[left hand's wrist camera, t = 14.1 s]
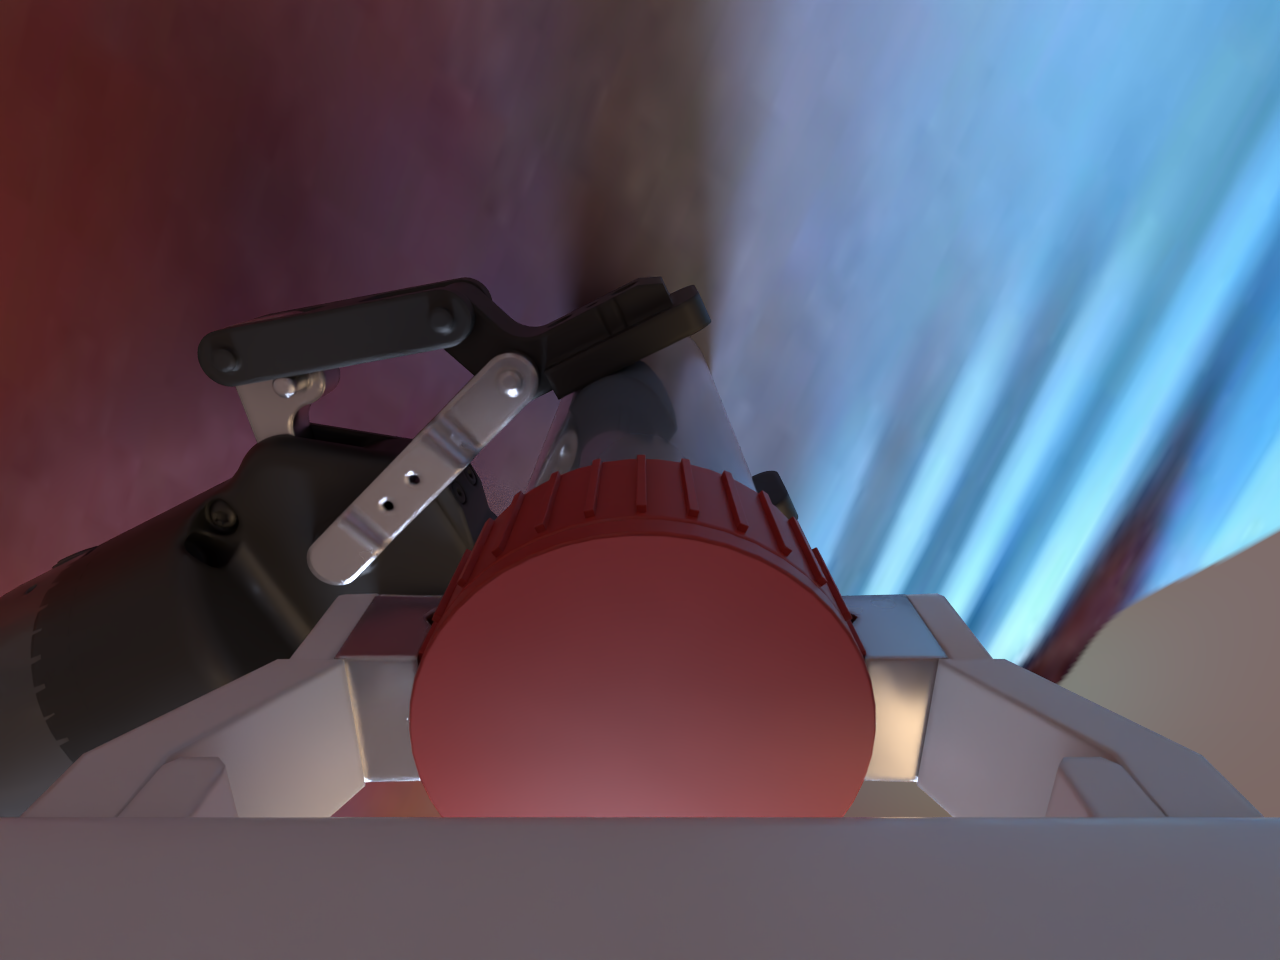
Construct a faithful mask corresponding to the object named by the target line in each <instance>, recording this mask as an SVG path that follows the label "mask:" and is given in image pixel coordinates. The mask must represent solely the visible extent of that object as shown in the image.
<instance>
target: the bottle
mask: <svg viewBox="0 0 1280 960" xmlns="http://www.w3.org/2000/svg"><path fill="white" fill-rule="evenodd" d="M637 455H646V459H659V460H667V461H674V462H681V459H682V458H684V459H689V460H690V464H691V465H694V466H698V467H702V468H706V469H710V470H712V471H715V472H717V473H720V474H722V473H723V471H724V470H725V471H727V472H730V473H731V474H732V477H733V479H734V480H736V481H738V482H740V483H741V484H743V485H745V486H747V487H748V488H750V489H752V490H754V491H756V492H757V493H758V491H757V488H756V486H755V483H754V481H753V478H752V476H751V473H750V471H749V468H748V466H747V463H746V461H745V458H744V456H743V453H742V451H741V448H740V446H739V443H738V441H737V438H736V436H735V433H734V431H733V428H732V426H731V423H730V421H729V418H728V416H727V413H726V411H725V408H724V406H723V403H722V401H721V398H720V396H719V393H718V391H717V388H716V386H715V383H714V381H713V378H712V376H711V373H710V371H709V368H708V366H707V363H706V361H705V358H704V356H703V354H702V352H701V350H700V349H699V347H698V346H697V345H696V343H695V342H694V341H693V340H692V339H691V338H690V337H689V336H688V337H686V338H684V339H682V340H680V341H678V342H676V343H674V344H672V345H670V346H668V347H666V348H664V349H662V350H660V351H657V352H655V353H653V354H651V355H649V356H647V357H645V358H643V359H641V360H639V361H637V362H635V363H633V364H631V365H629V366H627V367H625V368H623V369H621V370H618V371H616V372H614V373H612V374H610V375H608V376H606V377H604V378H602V379H599V380H597V381H595V382H593V383H591V384H589V385H588V386H586V387H584V388H582V389H580V390H577V391H575V392H573V393H571V394H569V395H567V396H565V397H563V398H562V399H561V401H560V404H559V406H558V409H557V412H556V414H555V417H554V419H553V422H552V424H551V427H550V430H549V432H548V435H547V437H546V440H545V442H544V445H543V448H542V450H541V453H540V455H539V458H538V460H537V463H536V465H535V468H534V471H533V473H532V476H531V478H530V481H529V483H528V486H527V489H526V491H525V494H526V493H528V492H529V491H530V490H532V489H534V488H536V487H537V486H539V485H541V484H543V483H545V482H547V481H549V480H550V477H551V474H552V473H555V472H557V471H559V473H560V475H562V474H565V473H567V472H570V471H573V470H575V469H578V468H582V467H586V466H590V465H592V462H593V460H596V459H601V461H602V462H609V461H618V460H627V459H637ZM525 494H524V495H525ZM758 494H759V493H758Z"/></svg>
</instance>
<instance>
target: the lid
mask: <svg viewBox="0 0 1280 960" xmlns="http://www.w3.org/2000/svg"><path fill="white" fill-rule="evenodd" d="M851 619H852V616H851V614H850V612H849V610H848V608H847V606H846V604H845V602H844V600H843V598H842V596H841V594H840V592H839V590H838V588H837V586H836V584H835V582H834V580H833V578H832V576H831V574H830V572H829V570H828V568H827V566H826V564H825V562H824V560H823V558H822V556H821V554H820V552H819V551H818V549H817V548H814V549H811V547H810V545H809V543H808V541H807V539H806V537H805V535H804V533H803V531H802V529H801V527H800V525H799V523H798V521H797V520H796V519H795V517H791V518H790V519H788V518H787V517H786V516H785V515H784V514H783V513H782V512H781V511H780V510H779V509H778V508H777V507H776V506H774V505H773V504H772V502H771V500H770V498H769V495H768V494H767V493H766V492H764V491H763V490H761V492H760V493H759V494H758V493H757V492H756V491H754V490H752V489H750V488H748V487H747V486H745V485H743V484H741V483H740V482H738V481H736V480H734V479H733V477H732V474H731V473H730V472H727V471H725V470H724V471H723V473H722V474H720V473H717V472H715V471H712V470H710V469H706V468H702V467H698V466H694V465H691V464H690V460H689V459H684V458H682V459H681V462H674V461H667V460H659V459H646V455H637V459H627V460H618V461H609V462H602V461H601V459H596V460H593V462H592V465H590V466H586V467H582V468H578V469H575V470H573V471H570V472H567V473H565V474H562V475H560V473H559V471H557V472H555V473H552V474H551V477H550V480H549V481H547V482H545V483H543V484H541V485H539V486H537V487H536V488H534V489H532V490H530V491H529V492H528V493H526V494H525V495H524V494H523V493H522V492H521V491H520V492H519V493H517V494H516V495H515V496H514V499H513V501H512V503H511V505H510V506H509V507H508V508H507V509H506V510H505V511H504V512H503V513H502V514H501V515H500V516H499V517H498V518H496V519H495V520H493V519H491V518H489V519H488V520H487V521H486V522H485V524H484V526H483V528H482V530H481V533H480V535H479V537H478V539H477V541H476V543H475V545H474V547H473V549H472V551H471V550H469V549H466V551H465V553H464V555H463V557H462V559H461V561H460V563H459V565H458V567H457V569H456V571H455V573H454V575H453V577H452V579H451V581H450V583H449V585H448V587H447V589H446V591H445V593H444V595H443V597H442V599H441V601H440V603H439V605H438V607H437V609H436V611H435V613H434V615H433V617H432V621H434V622H433V624H432V626H431V628H430V630H429V632H428V634H427V636H426V638H425V640H424V642H423V644H422V646H421V649H420V651H419V653H418V654H419V659H420V660H421V661H420V664H419V666H418V669H417V672H416V674H415V677H414V682H413V687H412V692H411V697H410V705H409V732H410V740H411V748H412V754H413V757H414V761H415V764H416V767H417V771H418V774H419V777H420V779H421V782H422V784H423V786H424V788H425V790H426V792H427V794H428V796H429V799H430V800H431V802H432V803H433V805H434V806H435V808H436V809H437V811H438V812H439V814H440V815H441V817H843V816H844V815H845V813H846V812H847V810H848V809H849V807H850V806H851V805H852V803H853V802H854V800H855V798H856V796H857V793H858V792H859V790H860V787H861V785H862V783H863V781H864V779H865V776H866V773H867V770H868V767H869V764H870V761H871V757H872V752H873V746H874V739H875V733H876V704H875V698H874V693H873V687H872V681H871V678H870V675H869V672H868V669H867V666H866V663H865V660H864V658H863V654H866V650H865V648H864V646H863V644H862V642H861V640H860V638H859V636H858V634H857V632H856V630H855V628H854V626H853V624H852V622H851Z"/></svg>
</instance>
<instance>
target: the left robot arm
mask: <svg viewBox="0 0 1280 960" xmlns="http://www.w3.org/2000/svg"><path fill="white" fill-rule="evenodd" d="M442 597H443V596H441V595H388V594H381V595H378V594H345V595H340V596H338V597H337V598H336V599H335V601H334V602H333V603H332V605H331V606H330V607H329V608H328V610H327V611H326V612H325V614H324V615H323V616H322V617H321V619H320V620H319V621H318V623H317V624H316V625H315V627H314V628H313V629H312V630H311V632H310V633H309V634H308V636H307V637H306V638H305V640H304V641H303V642H302V643H301V645H300V646H299V647H298V649H297V650H296V651H295V652H294V654H293V655H292V656H291V658H290V659H277V660H275V661H273V662H271V663H269V664H267V665H265V666H263V667H261V668H259V669H257V670H254V671H252V672H250V673H248V674H246V675H244V676H242V677H240V678H238V679H236V680H234V681H232V682H230V683H228V684H226V685H224V686H222V687H220V688H218V689H215V690H213V691H211V692H209V693H207V694H205V695H203V696H201V697H199V698H197V699H195V700H193V701H191V702H189V703H187V704H185V705H183V706H181V707H178V708H176V709H174V710H172V711H170V712H168V713H166V714H164V715H162V716H160V717H158V718H156V719H154V720H152V721H150V722H148V723H146V724H144V725H142V726H139V727H137V728H135V729H133V730H131V731H129V732H127V733H125V734H123V735H121V736H119V737H117V738H115V739H113V740H111V741H109V742H107V743H105V744H103V745H100V746H98V747H96V748H94V749H92V750H90V751H88V752H86V753H84V754H82V755H81V756H80V757H79V758H78V759H77V760H76V761H75V762H74V763H73V764H72V765H71V766H70V767H69V768H68V769H67V770H66V771H65V772H64V773H63V774H62V775H61V776H60V777H59V778H58V779H57V780H56V781H55V782H54V783H53V784H52V785H51V786H50V787H49V788H48V789H47V790H46V791H45V792H44V793H43V794H42V795H41V796H40V797H39V798H38V799H37V800H36V801H35V802H34V803H33V804H32V805H31V806H30V807H29V808H28V809H27V810H26V811H25V812H24V813H23V814H22V815H21V816H20V817H0V960H1280V817H1264V816H1263V815H1262V814H1261V813H1260V812H1259V811H1258V810H1257V809H1256V808H1255V807H1254V806H1253V805H1252V804H1251V803H1250V802H1249V801H1248V800H1247V799H1246V798H1245V797H1244V796H1242V794H1240V792H1239V791H1237V790H1236V789H1235V788H1234V787H1233V786H1232V785H1231V784H1230V783H1229V782H1228V781H1227V780H1226V779H1225V778H1224V777H1223V776H1222V775H1221V774H1220V773H1219V772H1218V771H1217V770H1216V769H1215V768H1214V767H1213V766H1212V765H1211V764H1210V763H1209V762H1208V761H1207V760H1206V759H1205V758H1204V757H1203V756H1202V755H1200V754H1198V753H1196V752H1194V751H1192V750H1190V749H1188V748H1186V747H1184V746H1182V745H1180V744H1178V743H1176V742H1174V741H1172V740H1170V739H1168V738H1166V737H1164V736H1162V735H1159V734H1157V733H1155V732H1153V731H1151V730H1149V729H1147V728H1145V727H1143V726H1141V725H1139V724H1137V723H1135V722H1133V721H1131V720H1129V719H1127V718H1125V717H1122V716H1120V715H1118V714H1116V713H1114V712H1112V711H1110V710H1108V709H1106V708H1104V707H1102V706H1100V705H1098V704H1096V703H1094V702H1092V701H1090V700H1088V699H1086V698H1083V697H1081V696H1079V695H1077V694H1075V693H1073V692H1071V691H1069V690H1067V689H1065V688H1063V687H1061V686H1059V685H1057V684H1055V683H1053V682H1051V681H1049V680H1047V679H1044V678H1042V677H1040V676H1038V675H1036V674H1034V673H1032V672H1030V671H1028V670H1026V669H1024V668H1022V667H1020V666H1018V665H1016V664H1014V663H1012V662H1010V661H1008V660H1005V659H993V658H992V657H991V656H990V655H989V653H988V652H987V651H986V649H985V648H984V647H983V646H982V644H981V643H980V642H979V640H978V639H977V638H976V637H975V635H974V634H973V633H972V631H971V630H970V629H969V628H968V626H967V625H966V624H965V623H964V621H963V620H962V619H961V617H960V616H959V615H958V614H957V612H956V611H955V610H954V608H953V607H952V606H951V605H950V603H949V602H948V601H947V599H946V598H945V597H944V596H942V595H940V594H937V593H936V594H913V595H905V594H902V595H861V596H842V598H843V600H844V602H845V604H846V606H847V608H848V610H849V612H850V614H851V616H852V619H851V622H852V624H853V626H854V628H855V630H856V632H857V634H858V636H859V638H860V640H861V642H862V644H863V646H864V648H865V650H866V654H863V658H864V660H865V663H866V666H867V669H868V672H869V675H870V678H871V681H872V687H873V693H874V698H875V704H876V733H875V739H874V746H873V752H872V757H871V761H870V764H869V767H868V770H867V773H866V776H865V779H864V781H899V782H917V786H919V787H920V788H921V789H922V790H923V791H924V792H925V793H926V794H928V795H929V796H930V797H931V798H932V799H933V800H934V801H936V802H937V803H938V804H939V805H940V806H941V807H942V808H943V809H945V810H946V811H947V812H948V813H949V814H950V815H951V816H952V817H330V816H331V815H333V814H334V813H335V812H336V811H337V810H338V809H339V808H340V807H342V806H343V805H344V804H345V803H346V802H347V801H348V800H350V799H351V798H352V797H353V796H354V795H355V794H356V793H357V792H359V791H360V790H361V789H362V788H363V787H364V786H365V782H383V781H418V780H421V779H420V777H419V774H418V771H417V767H416V764H415V761H414V757H413V754H412V748H411V740H410V732H409V705H410V697H411V692H412V687H413V682H414V677H415V674H416V672H417V669H418V666H419V664H420V661H421V660H420V659H419V654H418V653H419V651H420V649H421V646H422V644H423V642H424V640H425V638H426V636H427V634H428V632H429V630H430V628H431V626H432V624H433V622H434V621H432V617H433V615H434V613H435V611H436V609H437V607H438V605H439V603H440V601H441V599H442Z"/></svg>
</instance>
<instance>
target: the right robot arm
mask: <svg viewBox="0 0 1280 960" xmlns="http://www.w3.org/2000/svg"><path fill="white" fill-rule="evenodd" d="M710 322H711V319H710V317H709V315H708V313H707V310H706V308H705V306H704V304H703V301H702V299H701V297H700V295H699V293H698V291H697V289H696V287H695V286H694V285H691V286H687V287H685V288H682V289H680V290H678V291H676V292H674V293H672V294H670V295H669V292H668V290H667V288H666V286H665V284H664V282H663V280H662V277H650V278H638V279H636V280H634V281H632V282H630V283H628V284H626V285H624V286H622V287H620V288H618V289H616V290H614V291H612V292H610V293H608V294H606V295H604V296H602V297H601V298H599V299H596V300H594V301H592V302H590V303H588V304H586V305H584V306H582V307H581V308H579V309H577V310H575V311H573V312H571V313H569V314H567V315H565V316H563V317H561V318H559V319H557V320H555V321H553V322H551V323H549V324H547V325H544V326H540V327H529V326H525V325H522V324H519V323H517V322H516V321H514V320H513V319H512V318H510V317H509V316H508V315H507V314H506V313H505V312H504V311H503V310H502V309H500V308H499V307H498V306H497V305H496V304H495V303H494V302H493V301H492V298H491V295H490V293H489V291H488V289H487V288H486V287H485V286H484V285H483V284H482V283H481V282H479V281H477V280H475V279H472V278H466V277H465V278H458V279H452V280H447V281H442V282H436V283H431V284H426V285H421V286H415V287H410V288H405V289H399V290H394V291H389V292H384V293H378V294H373V295H368V296H362V297H357V298H352V299H346V300H341V301H336V302H331V303H325V304H320V305H315V306H309V307H304V308H299V309H293V310H288V311H283V312H278V313H272V314H268V315H264V316H261V317H258V318H255V319H251V320H248V321H245V322H242V323H239V324H235V325H232V326H229V327H226V328H223V329H220V330H217V331H214V332H211V333H209V334H207V335H206V336H204V337H203V339H202V340H201V342H200V343H199V346H198V352H197V353H198V360H199V363H200V366H201V368H202V369H203V371H204V372H205V373H206V375H207V376H208V377H209V378H211V379H212V380H213V381H215V382H217V383H219V384H221V385H224V386H231V387H233V386H235V387H236V389H237V392H238V394H239V397H240V399H241V402H242V405H243V407H244V410H245V412H246V415H247V417H248V420H249V423H250V425H251V428H252V430H253V433H254V435H255V438H256V441H257V444H256V445H255V446H253V447H252V448H251V449H250V450H249V452H248V453H247V454H246V456H245V457H244V459H243V461H242V463H241V465H240V467H239V469H238V471H237V472H236V473H235V475H234V476H233V477H232V478H231V479H229V480H227V481H225V482H223V483H221V484H219V485H217V486H215V487H213V488H211V489H209V490H207V491H205V492H203V493H201V494H199V495H197V496H195V497H193V498H191V499H189V500H187V501H185V502H183V503H182V504H180V505H178V506H176V507H174V508H172V509H170V510H168V511H166V512H164V513H162V514H160V515H158V516H156V517H154V518H152V519H150V520H148V521H146V522H144V523H142V524H140V525H138V526H136V527H134V528H132V529H130V530H128V531H127V532H124V533H122V534H120V535H118V536H116V537H115V538H113V539H111V540H109V541H107V542H105V543H103V544H101V545H99V546H95V547H92V548H88V549H85V550H83V551H80V552H77V553H75V554H72V555H70V556H68V557H66V558H64V559H62V560H60V561H59V562H58V564H56V565H55V566H53V567H52V570H50V571H48V572H46V573H44V574H42V575H40V576H38V577H36V578H34V579H32V580H30V581H28V582H26V583H24V584H22V585H21V586H19V587H17V588H15V589H13V590H12V591H10V592H8V593H6V594H5V595H3V596H2V597H0V817H20V816H21V815H22V814H23V813H24V812H25V811H26V810H27V809H28V808H29V807H30V806H31V805H32V804H33V803H34V802H35V801H36V800H37V799H38V798H39V797H40V796H41V795H42V794H43V793H44V792H45V791H46V790H47V789H48V788H49V787H50V786H51V785H52V784H53V783H54V782H55V781H56V780H57V779H58V778H59V777H60V776H61V775H62V774H63V773H64V772H65V771H66V770H67V769H68V768H69V767H70V766H71V765H72V764H73V763H74V762H75V761H76V760H77V759H78V758H79V757H80V756H81V755H82V754H84V753H86V752H88V751H90V750H92V749H94V748H96V747H98V746H100V745H103V744H105V743H107V742H109V741H111V740H113V739H115V738H117V737H119V736H121V735H123V734H125V733H127V732H129V731H131V730H133V729H135V728H137V727H139V726H142V725H144V724H146V723H148V722H150V721H152V720H154V719H156V718H158V717H160V716H162V715H164V714H166V713H168V712H170V711H172V710H174V709H176V708H178V707H181V706H183V705H185V704H187V703H189V702H191V701H193V700H195V699H197V698H199V697H201V696H203V695H205V694H207V693H209V692H211V691H213V690H215V689H218V688H220V687H222V686H224V685H226V684H228V683H230V682H232V681H234V680H236V679H238V678H240V677H242V676H244V675H246V674H248V673H250V672H252V671H254V670H257V669H259V668H261V667H263V666H265V665H267V664H269V663H271V662H273V661H275V660H277V659H290V658H291V656H292V655H293V654H294V652H295V651H296V650H297V649H298V647H299V646H300V645H301V643H302V642H303V641H304V640H305V638H306V637H307V636H308V634H309V633H310V632H311V630H312V629H313V628H314V627H315V625H316V624H317V623H318V621H319V620H320V619H321V617H322V616H323V615H324V614H325V612H326V611H327V610H328V608H329V607H330V606H331V605H332V603H333V602H334V601H335V599H336V598H337V597H338V596H340V595H345V594H378V595H381V594H388V595H441V596H443V595H444V593H445V591H446V589H447V587H448V585H449V583H450V581H451V579H452V577H453V575H454V573H455V571H456V569H457V567H458V565H459V563H460V561H461V559H462V557H463V555H464V553H465V551H466V549H469V550H471V551H472V549H473V547H474V545H475V543H476V541H477V539H478V537H479V535H480V533H481V530H482V528H483V526H484V524H485V522H486V521H487V520H488V519H489V518H491V519H493V520H495V519H496V518H498V517H497V516H496V515H495V514H494V513H493V512H492V511H491V510H490V509H489V506H488V503H487V500H486V497H485V493H484V490H483V486H482V483H481V480H480V478H479V477H478V475H477V473H476V472H475V470H474V469H473V467H472V465H471V464H470V462H471V461H472V460H473V459H474V457H475V456H476V455H477V454H478V453H479V452H480V451H481V450H482V449H483V447H484V446H485V445H486V444H487V443H489V442H490V441H491V440H492V439H493V438H494V437H495V436H496V435H497V434H498V433H499V432H500V431H501V430H502V429H503V428H504V427H505V426H506V425H507V424H508V423H509V422H510V421H511V420H512V419H513V418H514V417H515V416H516V415H517V414H518V413H519V412H520V411H521V410H522V409H523V408H524V407H525V406H526V405H527V404H528V403H529V402H530V401H531V400H533V399H535V398H537V397H539V396H541V395H543V394H545V393H547V392H550V391H552V390H554V392H555V394H556V396H557V398H558V399H561V398H563V397H565V396H567V395H569V394H571V393H573V392H575V391H577V390H580V389H582V388H584V387H586V386H588V385H589V384H591V383H593V382H595V381H597V380H599V379H602V378H604V377H606V376H608V375H610V374H612V373H614V372H616V371H618V370H621V369H623V368H625V367H627V366H629V365H631V364H633V363H635V362H637V361H639V360H641V359H643V358H645V357H647V356H649V355H651V354H653V353H655V352H657V351H660V350H662V349H664V348H666V347H668V346H670V345H672V344H674V343H676V342H678V341H680V340H682V339H684V338H686V337H688V336H690V335H692V334H694V333H696V332H698V331H700V330H701V329H703V328H705V327H706V326H707V325H708V324H710ZM438 349H445V350H446V351H447V352H448V353H449V354H450V355H451V356H453V357H454V358H455V359H456V360H457V361H458V362H459V363H461V364H462V365H463V366H464V367H465V368H466V369H467V370H469V371H470V372H471V373H472V374H473V375H474V377H473V378H472V379H471V380H470V381H469V382H468V383H467V384H466V385H465V386H464V387H463V388H462V389H461V390H460V391H459V392H458V393H457V394H456V395H455V396H454V397H453V398H452V399H451V400H450V401H449V402H448V403H447V404H446V405H445V406H444V407H443V408H442V410H441V411H440V412H439V413H438V414H437V415H436V416H435V417H434V418H433V419H432V420H431V421H430V422H429V423H428V424H427V425H426V426H425V427H424V428H423V429H422V430H421V431H420V432H419V433H418V434H417V435H416V436H415V437H414V438H413V439H408V438H402V437H395V436H389V435H383V434H377V433H371V432H365V431H358V430H352V429H346V428H340V427H334V426H328V425H322V424H315V423H310V422H309V409H310V406H311V404H312V403H313V402H315V401H317V400H318V399H320V398H321V397H323V396H325V395H326V394H328V393H329V392H331V391H332V390H333V389H335V387H336V386H337V384H338V382H339V379H340V369H339V367H345V366H350V365H355V364H361V363H366V362H372V361H377V360H383V359H388V358H394V357H399V356H405V355H410V354H416V353H421V352H427V351H432V350H438ZM752 478H753V481H754V483H755V486H756V488H757V491H758V493H760V492H761V490H763V491H764V492H766V493H767V494H768V495H769V498H770V500H771V502H772V504H773V505H774V506H776V507H777V508H778V509H779V510H780V511H781V512H782V513H783V514H784V515H785V516H786V517H787V518H788V519H790V518H791V517H795V519H796V520H797V519H798V514H797V512H796V510H795V508H794V505H793V503H792V501H791V499H790V497H789V494H788V492H787V490H786V488H785V486H784V484H783V482H782V480H781V478H780V476H779V474H778V472H776V471H766V472H762V473H759V474H757V475H754V476H752Z"/></svg>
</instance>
